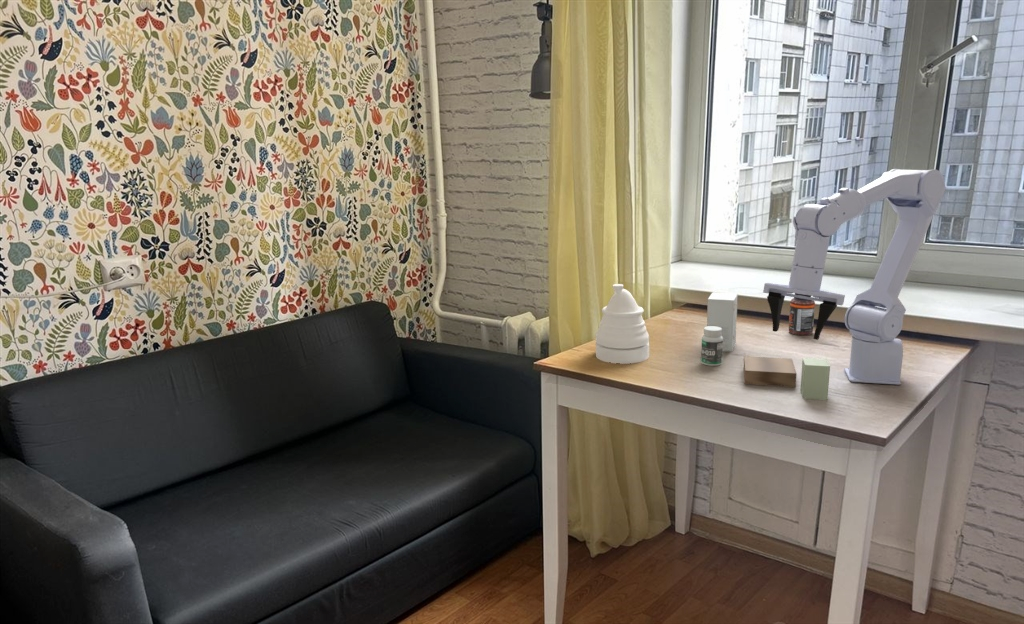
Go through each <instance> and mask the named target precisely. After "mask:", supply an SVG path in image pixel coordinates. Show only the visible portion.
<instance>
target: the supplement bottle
mask: <svg viewBox="0 0 1024 624" xmlns="http://www.w3.org/2000/svg"><path fill="white" fill-rule="evenodd" d="M794 294H795V295H801V296H807V297H812V296H810V295H803V294H797V293H794ZM815 308H816V301H814V300H808V299H802V298H796V297H792V298H791V300H790V304H789V316H788V317H789V318H788V332H789V333H790V334H792V335H795V334H796V336H810V335H812V334H813V332H814V322H815ZM809 334H810V335H809Z"/></svg>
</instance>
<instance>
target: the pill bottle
mask: <svg viewBox="0 0 1024 624" xmlns="http://www.w3.org/2000/svg"><path fill="white" fill-rule="evenodd" d="M721 335H722V328H720V327H716V326H707V325H706V326H705V327H703V335H702V336H701V346H700V347H701V348H700V349H701V351H700V355H701V356H700V362H701V364H702V365H706V366H709V367H713V366H720V365H722V363H723V352H724V351H723V337H722V336H721Z"/></svg>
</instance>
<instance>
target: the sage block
mask: <svg viewBox="0 0 1024 624" xmlns="http://www.w3.org/2000/svg"><path fill="white" fill-rule="evenodd" d="M830 372H831V365H830V363H829V361H828V359H826V358H812V357H811V358H808V357H803V358H802V362H801V375H800V388H799V389H800V390H799V391H800V394H801V398H802V399H806V400H808V399H809V400H818V401H819V400H822V401H828V398H829V388H830V387H829V385H830V374H831V373H830Z"/></svg>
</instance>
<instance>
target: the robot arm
mask: <svg viewBox="0 0 1024 624" xmlns="http://www.w3.org/2000/svg"><path fill="white" fill-rule="evenodd" d="M944 179H945V178H944V177H943V173H942V172H941V171H940V170H938V169H900V168H893V169H890V170H889V171H885V172H883V173H882V174H881V176H880V177H879V178H877V179H875V180H873V181H872V182H869V183H868V184H866V185H864V186H863V187H861V188H859V189H857V190H856V189H855V188H848V187H842V188H840V189H838V193H836V194H834V195H831V196H830V197H823V198H821V199H820V200H819V202H817V203H816V204H813V203H807V204H804V205H803V206H801V207H800V208H799V209H798V210H797V212H796V213H795V216H793V217H792V218H793V219H792V224H793V227H794V230H795V233H794V238H795V241H796V244H795V248H794V255H793V261H792V265H791V271H790V276H789V280H788V281H789V282H788V285H787V284H778V283H773V282H772V283H771V282H765V283H764V286H763V292H762V293H764V294H768V295H767V296H766V299H767V303H768V305H769V309H770V313H771V319H772V332H778V331H779V329H780V323H781V315H782V308H783V306H784V301H785V297H790V298H794V297H796V298H802V299H808V300H814V301H815V302H821V303H820V304H819V308H818V317H817V323H816V326H815V330H814V335H813V340H817V341H818V340H819V338H820V336H821V333H822V331H823V328H824V326H825V325H826V323H827V321H828V320H829V318H830V317H831V315H832V314H833V312H834V311H835V309H836V308H837V307H838V306H843V305H844V303H845V298H846V294H841V293H835V292H832V291H831V292H830V291H824V290H821V286H822V283H823V282H822V281H823V276H824V270H825V265H826V260H827V259H826V258H827V255H828V250H829V246H830V245H829V244H830V239H831V236H834V235H835V234H836V233H837V232H838V231H839V228H840V226H842V225H843V224H845V223H847V222H849V221H851V220H853V219H855V218H857V217H860V216H861V215H862V214H863V213H864V212H865V210H866V207H867V206H870V205H872V204H875V203H877V202H879V201H883V200H884V199H886V200H887V202H888V204H889V205H890V207H891V209H892V210H893V211H894V212H895V213H896V214H898V215H899V218H900V219H899V221H898V224H897V227H896V229H895V231H894V234H893V235H892V238H891V240H890V242H889V244H888V247H887V249H886V251H885V254H884V256H883V258H882V261H881V263H880V266H879V268H878V270H877V272H876V275H875V277H874V279H873V282H872V283H871V286H870V288H868V289H866V290H865V291H862V292H860V293H858V294H856V295H855V296H856V297H855V299H854V301H853V302H852V303H851V305H849V306H848V308H847V309H846V312H845V314H844V324H845V327H846V328H847V329H848V330H849V335H851V344H850V345H851V346H850V357H849V367H845V368H844V370H843V371H844V372H845V374H846V376H847V378H848V380H849V381H850V382H851V383H867V384H868V383H869V384H882V385H898V386H899V385H901V384H902V383H901V375H902V367H903V366H902V365H903V356H904V355H903V354H904V345H903V342H902V339H900V338H897V336H899V334H900V333H901V331H902V328H903V326H904V325H903V321H904V316H905V313H906V310H907V309H906V307H905V305H904V304H903V303H902V301H901V300H900V298H899V296H900V293H901V291H902V288H903V286H904V284H905V282H906V279H907V277H908V275H909V273H910V270H911V267H912V266H913V263H914V261H915V259H916V257H917V255H918V253H919V249H920V247H921V245H922V243H923V241H924V238H925V236H926V234H927V232H928V230H929V227H930V224H931V223H932V220H933V216H934V215H935V214H936V213H937V210H938V207H939V206H940V203H941V201H942V199H943V197H944V194H945V192H946V189H947V187H946V184H945V180H944ZM795 293H797V294H803V295H810V296H811V297H807V296H801V295H795Z"/></svg>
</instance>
